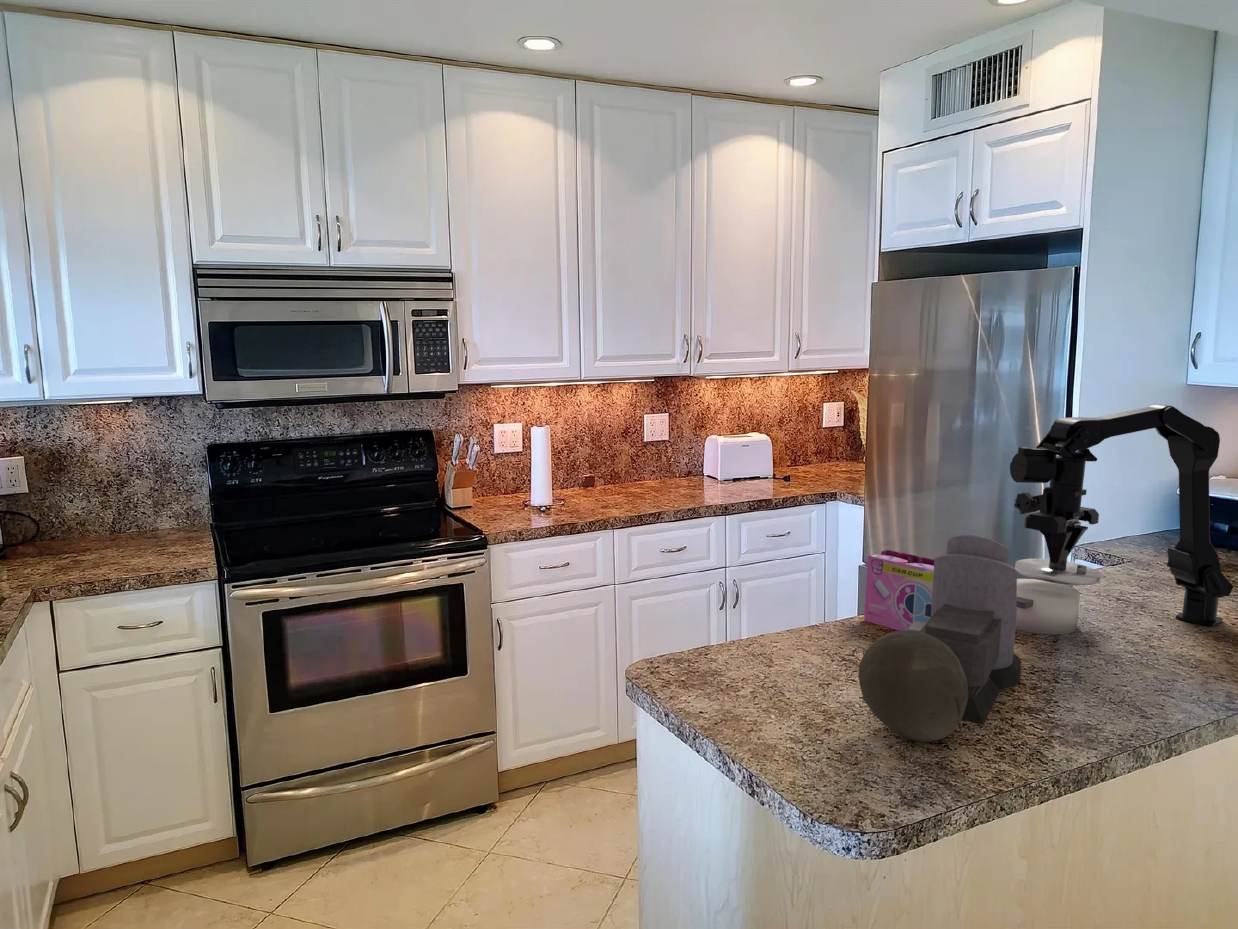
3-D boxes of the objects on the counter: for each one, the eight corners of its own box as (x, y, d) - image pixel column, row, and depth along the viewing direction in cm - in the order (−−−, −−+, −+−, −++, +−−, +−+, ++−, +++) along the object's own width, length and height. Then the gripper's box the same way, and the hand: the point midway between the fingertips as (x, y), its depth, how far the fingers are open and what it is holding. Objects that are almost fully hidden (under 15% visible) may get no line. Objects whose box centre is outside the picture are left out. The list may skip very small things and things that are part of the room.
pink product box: (856, 619, 170) (859, 553, 168) (878, 611, 175) (881, 547, 173) (972, 653, 152) (977, 579, 150) (992, 642, 157) (997, 572, 155)
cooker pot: (1026, 604, 180) (1029, 572, 179) (1095, 622, 169) (1099, 588, 168) (978, 623, 168) (980, 588, 167) (1049, 643, 157) (1052, 606, 156)
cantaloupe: (938, 714, 127) (944, 618, 124) (981, 761, 113) (989, 653, 110) (845, 715, 126) (849, 618, 124) (876, 762, 112) (882, 653, 110)
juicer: (931, 645, 156) (940, 515, 152) (1027, 664, 147) (1038, 526, 144) (887, 703, 131) (896, 549, 127) (999, 729, 122) (1012, 564, 119)
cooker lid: (1037, 560, 177) (1039, 536, 176) (1113, 577, 165) (1116, 551, 165) (1000, 570, 168) (1003, 545, 167) (1079, 589, 156) (1082, 562, 155)
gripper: (1046, 474, 176) (1039, 547, 178) (1001, 480, 164) (994, 559, 167) (1103, 482, 167) (1095, 558, 170) (1060, 489, 156) (1051, 572, 158)
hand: (1057, 561), depth 166 cm, fingers closed on cooker lid, 3 cm apart
